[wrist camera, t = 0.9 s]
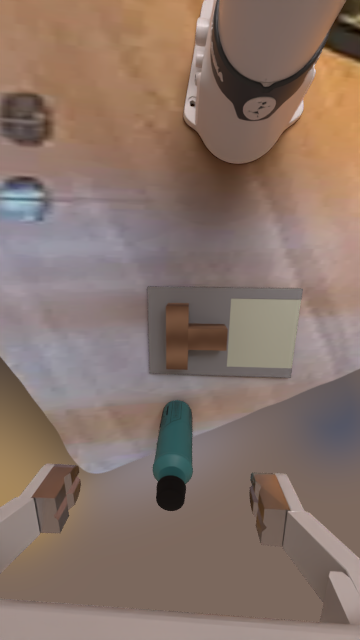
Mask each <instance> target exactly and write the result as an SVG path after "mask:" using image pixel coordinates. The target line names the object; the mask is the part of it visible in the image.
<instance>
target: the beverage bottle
mask: <svg viewBox="0 0 360 640" xmlns="http://www.w3.org/2000/svg"><path fill="white" fill-rule="evenodd" d="M163 409H164V410H163V414H162V416H161V417H162V419H161V422H160V423H161V424H160V428H159V429H160V431H159V432H158V433H159V437H158V442H157V443H156V444H157V449H156V455H155V461H154V464H153V474H154V477H155V478H156V480H157V481H158V483H157V496H156V499H157V503H158V505H159V506H160V507H161V508H163V509H165V510H168V511H175V510H178V509H179V508H181V507H182V505H183V504H184V499H185V493H186V485H185V484H186V483H187V482H188V481H189V480H190V479H191V477H192V473H193V468H192V430H193V428H192V427H193V426H192V413H191V411H192V410H191V409H190V407H189V406H188V405H187V404H186V403H185V402H183V401H179V400H175V401H171V402H169V403H168V404H167V405H166V406H165V408H163Z"/></svg>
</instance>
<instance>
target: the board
mask: <svg viewBox="0 0 360 640" xmlns="http://www.w3.org/2000/svg"><path fill="white" fill-rule="evenodd" d="M302 291H303V289H301V288H233V287H153V286H148V287H147V294H148V332H149V370H150V373H159V374H191V375H222V376H254V377H286V378H291V371H292V362H293V355H294V347H295V340H296V333H297V326H298V318H299V311H300V304H301V299H302ZM168 303H189V323H199V324H225V326H226V328H227V329H228V334H227V350H226V351H215V350H188V370H175V369H166V305H167V304H168Z"/></svg>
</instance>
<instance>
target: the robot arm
mask: <svg viewBox="0 0 360 640" xmlns="http://www.w3.org/2000/svg"><path fill="white" fill-rule="evenodd" d="M345 2H346V0H204V2H203V5H202V9H201V14H200V17H199V18H198V21H197V28H196V40H195V49H194V55H193V60H192V66H191V72H190V78H189V83H188V89H187V95H186V101H185V106H184V114H183V116H184V120H185V122H186V123H187V124H188V125H189V126H190V127H192V128H193V129H194V130H196V131H197V132H198V133H199V135H200V137H201V138H202V140H203V142H204V144H205V145H206V147H207V148H208V149H209V150H210V152H211V153H212V154H214V155H215V156H216V157H218V158H219V159H221V160H223V161H226V162H229V163H235V164H241V163H247V162H251V161H254V160H256V159H258V158H260V157H261V156H263V155H264V154H265V153H267V152H268V151H269V150H270V149H271V148H272V147H273V145H274V144H275V143H276V142H277V140H278V139H279V137H280V135H281V134H282V133H283V131H284V130H285V129H287V128H288V127H289V126H291V125H292V124H294V123H295V122H296V121H297V120H298V119H299V118H300V116H301V114H302V112H303V108H304V104H303V98H304V96H305V94H306V92H307V90H308V89H309V87H310V85H311V83H312V81H313V79H314V77H315V73H316V70H315V69H314V66H315V64H316V62H317V60H318V58H319V57H320V54H321V52H322V49H323V47H324V45H325V43H326V41H327V39H328V36H329V33H330V30H331V26H332V24H333V22H334V21H335V19H336V17H337V15H338V14H339V12H340V10H341V9H342V7H343V5H344V3H345ZM191 104H194V105H195V106H194V107H191V106H190V105H191ZM78 473H79V467H78V466H76V465H61V464H45V465H44V466H43V467H42V468H41V469H40V470H39V472H38V473H37V474H36V475H35V477H34V478H33V479H32V481H31V482H30V483H29V485H28V486H27V487H26V488H25V490H24V491H23V493H22V494H21V495H20V496H19V497H15V498H14V499H12V500H11V501H9V502H8V503H6V504H5V505H3V506H2V507H0V573H1V572H2V571H3V570H4V569H5V568H6V567H7V566H8V565H9V564H10V563H11V562H12V561H13V560H14V559H15V558H16V557H17V556H19V555H20V554H21V553H22V551H24V550H25V549H26V548H27V547H28V546H29V545H30V544H31V543H32V542H33V541H34V540H35V539H36V538H37V537H38V536H39V535H40V533H60V532H61V531H62V529H63V526H64V524H65V523H66V521H67V519H68V517H69V512H68V510H69V509H70V508H71V507H72V506H74V505H75V503H76V501H77V498H78V495H79V492H80V486H81V483H80V479H79V478H78V477H77V475H78ZM251 483H252V486H251V487H250V503H251V509H252V512H253V515H254V516H255V517H256V528H257V531H258V536H259V539H260V543H261V545H268V546H269V545H270V546H280V547H283V549H284V551H285V552H286V553H287V555H288V556H289V557H290V558H291V560H292V561H293V563H294V564H295V565H296V567H297V568H298V570H299V571H300V572H301V574H302V575H303V576H304V578H305V579H306V580H307V582H308V583H309V584H310V586H311V587H312V588H313V590H314V591H315V592H316V594H317V595H318V596H319V598H320V599H321V600H322V602H323V608H322V613H321V618H320V622H311V621H299V620H298V621H297V620H285V619H284V620H283V619H271V618H256V617H243V616H230V615H216V614H203V613H189V612H176V611H162V610H148V609H134V608H119V607H105V606H92V605H78V604H64V603H51V602H38V601H37V602H36V601H24V600H10V599H0V640H360V559H359V558H358V557H357V556H356V555H355V554H354V553H353V552H352V551H351V550H350V549H349V548H347V547H346V546H345V545H344V544H343V543H342V542H341V541H340V540H339V539H337V538H336V537H335V536H334V535H333V534H332V533H331V532H330V531H329V530H328V529H326V527H324V526H323V525H322V524H321V523H320V522H319V521H318V520H317V519H316V518H315V517H314V516H312V515H311V514H310V513H309V512H305V511H304V509H303V507H302V505H301V503H300V501H299V499H298V497H297V494H296V492H295V490H294V488H293V486H292V484H291V482H290V480H289V478H288V476H287V475H286V474H281V473H280V474H279V473H274V474H273V473H252V474H251Z"/></svg>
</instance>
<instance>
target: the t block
mask: <svg viewBox="0 0 360 640" xmlns="http://www.w3.org/2000/svg"><path fill="white" fill-rule="evenodd" d="M227 334H228V329H227V328H226V326H225V324H199V323H189V303H168V304H167V305H166V369H175V370H188V350H215V351H226V350H227Z"/></svg>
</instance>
